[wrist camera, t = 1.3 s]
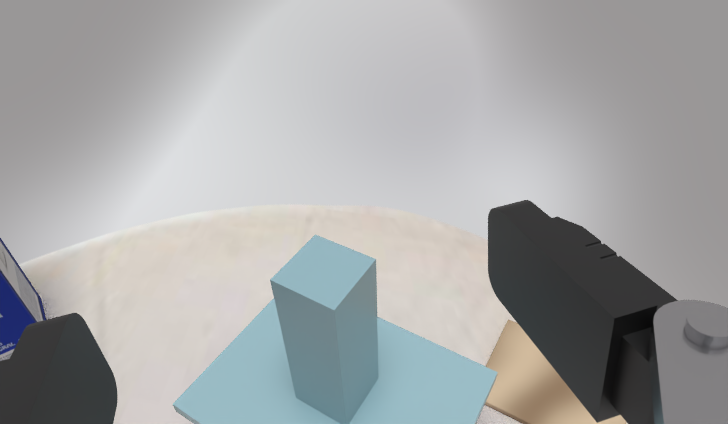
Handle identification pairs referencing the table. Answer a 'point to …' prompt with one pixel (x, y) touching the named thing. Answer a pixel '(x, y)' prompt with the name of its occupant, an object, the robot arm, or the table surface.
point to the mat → (532, 384)
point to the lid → (333, 357)
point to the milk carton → (15, 303)
